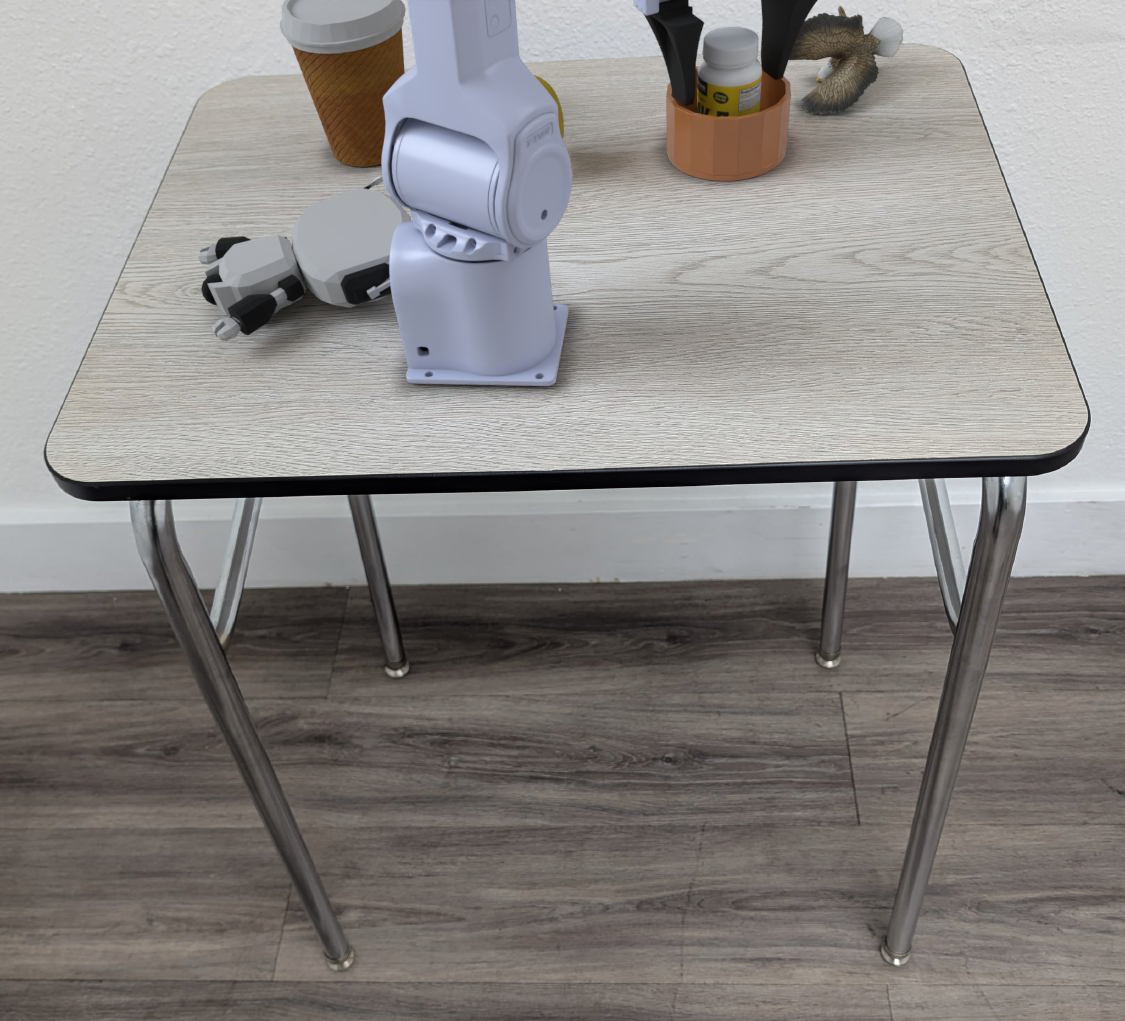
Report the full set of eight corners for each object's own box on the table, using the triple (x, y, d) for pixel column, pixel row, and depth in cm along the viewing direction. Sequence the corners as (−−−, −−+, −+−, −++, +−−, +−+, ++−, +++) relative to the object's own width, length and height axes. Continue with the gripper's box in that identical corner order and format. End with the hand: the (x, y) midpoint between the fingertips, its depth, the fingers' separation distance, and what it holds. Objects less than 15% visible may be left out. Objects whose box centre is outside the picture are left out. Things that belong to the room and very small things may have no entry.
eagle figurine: (809, 43, 96) (758, 65, 90) (864, -24, 90) (815, -5, 84) (867, 108, 95) (820, 135, 90) (926, 45, 90) (881, 69, 84)
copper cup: (664, 181, 84) (663, 119, 80) (670, 122, 90) (669, 62, 87) (787, 181, 83) (792, 118, 79) (784, 121, 89) (789, 60, 85)
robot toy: (228, 379, 73) (444, 308, 74) (202, 325, 69) (428, 252, 71) (208, 280, 81) (403, 218, 83) (183, 227, 77) (387, 164, 79)
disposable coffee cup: (293, 171, 89) (252, 22, 81) (345, 115, 95) (311, -29, 87) (400, 183, 87) (369, 30, 78) (446, 125, 93) (422, -23, 84)
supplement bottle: (683, 145, 87) (684, 38, 81) (727, 123, 88) (730, 17, 82) (726, 166, 84) (730, 58, 78) (770, 144, 86) (777, 36, 80)
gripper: (666, -70, 69) (667, 134, 78) (863, -119, 72) (841, 83, 82) (616, -102, 73) (623, 95, 83) (804, -146, 77) (789, 48, 86)
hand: (728, 87), depth 83 cm, fingers open, 7 cm apart
